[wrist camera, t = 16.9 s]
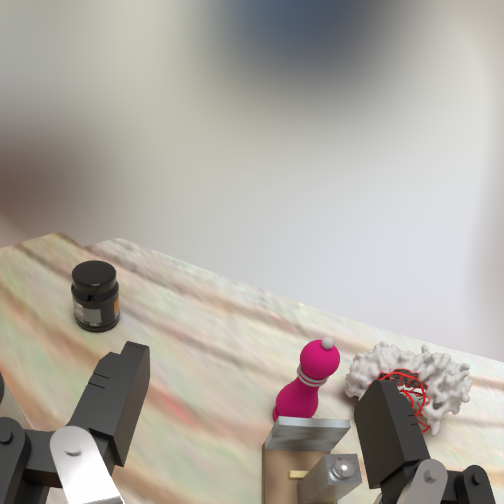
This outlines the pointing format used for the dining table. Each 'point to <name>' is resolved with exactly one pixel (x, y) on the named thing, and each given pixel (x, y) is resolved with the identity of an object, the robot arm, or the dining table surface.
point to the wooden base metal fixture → (295, 454)
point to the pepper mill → (308, 380)
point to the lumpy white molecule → (413, 379)
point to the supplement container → (95, 295)
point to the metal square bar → (329, 479)
